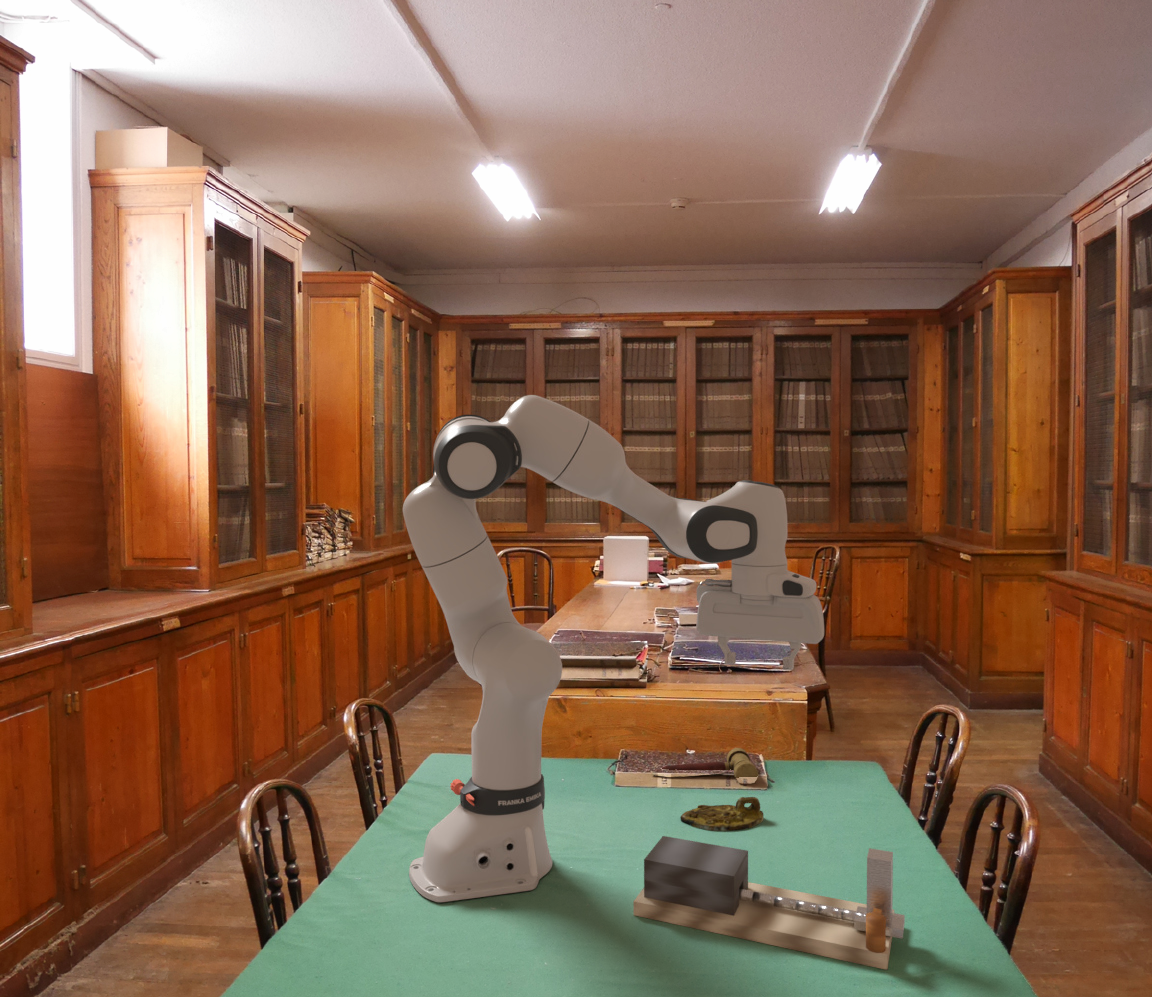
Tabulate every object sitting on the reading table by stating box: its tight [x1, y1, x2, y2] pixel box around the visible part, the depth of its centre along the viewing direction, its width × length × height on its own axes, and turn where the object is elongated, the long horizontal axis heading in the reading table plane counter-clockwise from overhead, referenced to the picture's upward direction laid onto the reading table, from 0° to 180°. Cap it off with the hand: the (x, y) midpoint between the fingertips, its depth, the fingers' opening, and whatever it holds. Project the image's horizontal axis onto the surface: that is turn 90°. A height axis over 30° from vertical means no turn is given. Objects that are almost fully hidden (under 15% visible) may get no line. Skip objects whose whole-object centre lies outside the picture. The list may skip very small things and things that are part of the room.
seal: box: [680, 796, 764, 832], centre depth 157 cm, size 9×5×15 cm
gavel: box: [661, 747, 759, 779], centre depth 179 cm, size 21×5×10 cm
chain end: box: [739, 847, 906, 940], centre depth 120 cm, size 23×4×10 cm, turn 66°
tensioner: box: [633, 835, 895, 971], centre depth 123 cm, size 34×12×8 cm, turn 66°
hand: (758, 666), depth 142 cm, fingers open, 8 cm apart
